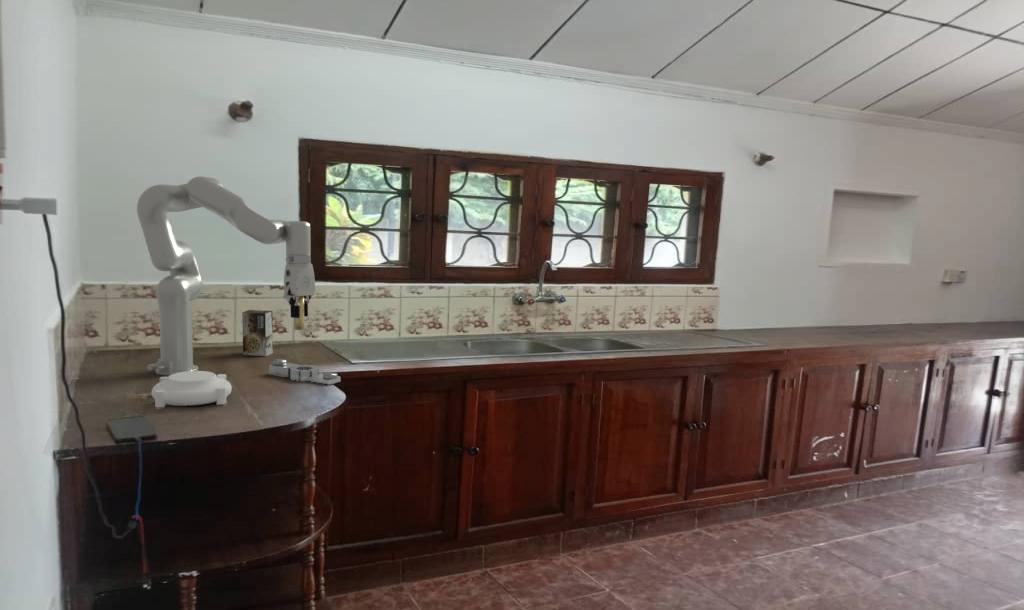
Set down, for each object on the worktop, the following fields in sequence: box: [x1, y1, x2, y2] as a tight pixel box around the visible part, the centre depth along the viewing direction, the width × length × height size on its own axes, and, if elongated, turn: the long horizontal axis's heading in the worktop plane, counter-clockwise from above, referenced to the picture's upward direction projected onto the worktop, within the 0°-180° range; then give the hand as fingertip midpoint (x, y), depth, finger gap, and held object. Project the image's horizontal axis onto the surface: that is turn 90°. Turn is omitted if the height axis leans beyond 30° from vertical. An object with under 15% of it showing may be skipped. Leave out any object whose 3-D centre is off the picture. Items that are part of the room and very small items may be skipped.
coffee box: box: [241, 309, 274, 357], centre depth 260 cm, size 9×6×16 cm
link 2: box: [289, 371, 341, 385], centre depth 227 cm, size 9×17×3 cm, turn 65°
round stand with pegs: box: [151, 370, 233, 408], centre depth 199 cm, size 24×24×7 cm
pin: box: [293, 295, 306, 331], centre depth 228 cm, size 4×4×12 cm
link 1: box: [268, 358, 320, 378], centre depth 231 cm, size 9×17×4 cm, turn 65°
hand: (299, 316), depth 228 cm, fingers closed on pin, 3 cm apart
